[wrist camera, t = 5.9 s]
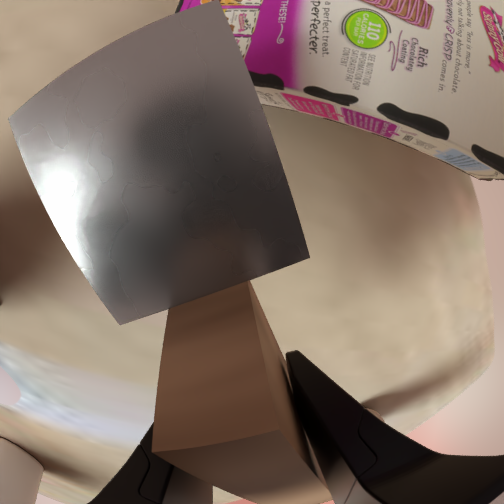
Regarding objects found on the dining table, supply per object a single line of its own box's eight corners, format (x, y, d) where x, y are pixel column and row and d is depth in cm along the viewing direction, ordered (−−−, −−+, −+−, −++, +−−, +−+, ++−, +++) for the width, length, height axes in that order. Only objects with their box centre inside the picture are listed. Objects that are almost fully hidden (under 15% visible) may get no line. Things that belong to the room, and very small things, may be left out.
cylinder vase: (23, 445, 29) (-4, 545, 6) (54, 474, 34) (38, 562, 11) (-15, 428, 28) (-45, 514, 5) (15, 459, 33) (-5, 537, 10)
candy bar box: (202, 97, 15) (479, 186, 11) (147, 76, 11) (525, 190, 6) (251, -36, 12) (498, 23, 7) (217, -76, 7) (525, -14, 2)
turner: (343, 405, 13) (373, 484, 9) (236, 438, 13) (247, 518, 9) (217, 7, 5) (230, -128, 1) (20, 116, 5) (-120, 158, 1)
